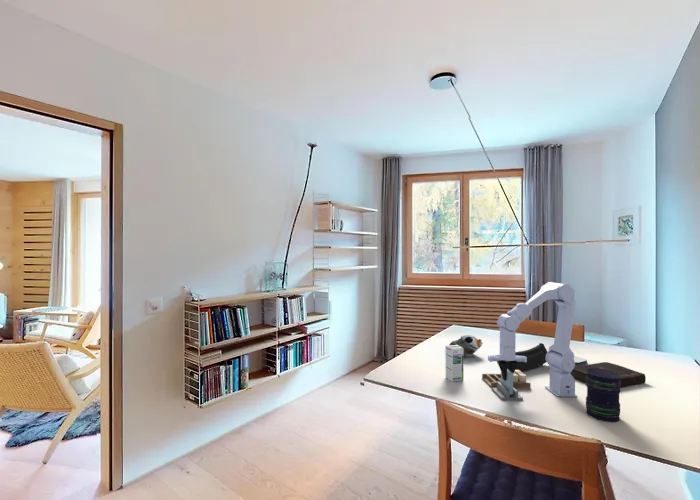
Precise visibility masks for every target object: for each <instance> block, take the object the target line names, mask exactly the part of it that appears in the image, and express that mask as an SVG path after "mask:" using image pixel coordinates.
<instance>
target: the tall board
mask: <svg viewBox="0 0 700 500" xmlns="http://www.w3.org/2000/svg"><path fill="white" fill-rule="evenodd" d="M500 374H501V384H502V385H503V386H505V387H506V388H507V389H508V390H509V391H510V394H513V373H512V372H511V371H510V370H508V369H507V379H506V381H505V380H503V378H502V373H501V372H500Z"/></svg>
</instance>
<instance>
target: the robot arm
mask: <svg viewBox="0 0 700 500" xmlns="http://www.w3.org/2000/svg"><path fill="white" fill-rule="evenodd" d="M575 293H576V290H575V289H574V288H573V287H572V286H571V285H570V284H569V283H559V282H553V281H548V282H546V283H545V284H543V285H541V287H540V290H538V292H537V293H535V294H534V295H533V296H531V298H529V299H528V300H527V301H526V302H520V303H516V304H515V306H514V307H513V308H512V309H511V310H508V311H507V312H506V313H503V314H500V315H499V317H498V318H497V320H496V324H497V326H498V329H499V330H498V331H499V354H493V355H487V361H488V362H491V363H492V362H496V363H497V365H498V368H499V370H500V374H501V373H502V378H503V380H505V381H506V379H507V369H508V370H510V371H511V372H512V373H513V374H514V371H515V369H516V368H517V367H518V363H517V362H527V357H525V356H518V355H515V352H516V334H517V333H516V330H518V329H519V328H520V324H521V323H522V322H523V321H525V320H526V319H527V318H528V317H530V316H531V315H532V312H533V309H534V310H535V309H536V308H537V307H538V306H540V305H542V303H544V302H546V301H548V300H553V301H554V302H555V303H556V305H558V310H557V311H558V312H557V318H556V325H555V332H554V333H555V334H554V339H553V340H554V341H553V344H552V345H549V347H548V349H549V350H548V352H547V354H546V363H547V364H548V367H549V385H547V386H544V388H545V389H546V390H548V391H549V392H550V393H551V394H553V395H555V396H556V397H569V398H571V397H573V398H575V397H576V398H577V397H578V395H577V394H576V380H575V379H574V378H573V376H572V375H571V374H570V372H571V371H572V370H573V369H574V367H575V361H574V356H575V353H574V351H572V349H571V347H570V344H571V337H572V330H573V323H574V316H575V310H576V300H575ZM505 361H507V364H506V362H505Z"/></svg>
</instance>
